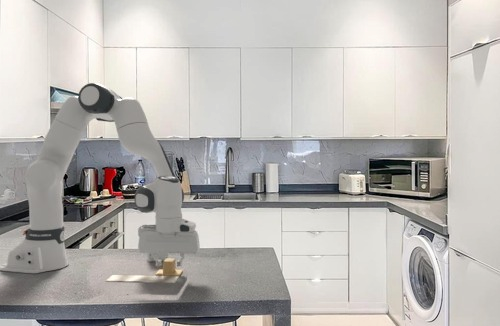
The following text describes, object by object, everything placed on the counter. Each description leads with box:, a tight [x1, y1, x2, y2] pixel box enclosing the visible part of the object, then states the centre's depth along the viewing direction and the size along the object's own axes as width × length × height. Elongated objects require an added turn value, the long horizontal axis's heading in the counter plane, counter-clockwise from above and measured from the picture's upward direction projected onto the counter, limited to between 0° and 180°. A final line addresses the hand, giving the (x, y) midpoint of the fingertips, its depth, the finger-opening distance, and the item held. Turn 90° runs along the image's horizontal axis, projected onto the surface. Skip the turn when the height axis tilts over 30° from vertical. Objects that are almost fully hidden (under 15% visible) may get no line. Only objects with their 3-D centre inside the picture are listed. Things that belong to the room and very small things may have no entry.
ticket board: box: [105, 274, 180, 284], centre depth 152 cm, size 24×13×2 cm, turn 87°
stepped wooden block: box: [154, 257, 184, 277], centre depth 155 cm, size 8×6×5 cm
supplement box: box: [146, 253, 169, 262], centre depth 174 cm, size 7×7×13 cm
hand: (169, 266), depth 155 cm, fingers open, 6 cm apart
